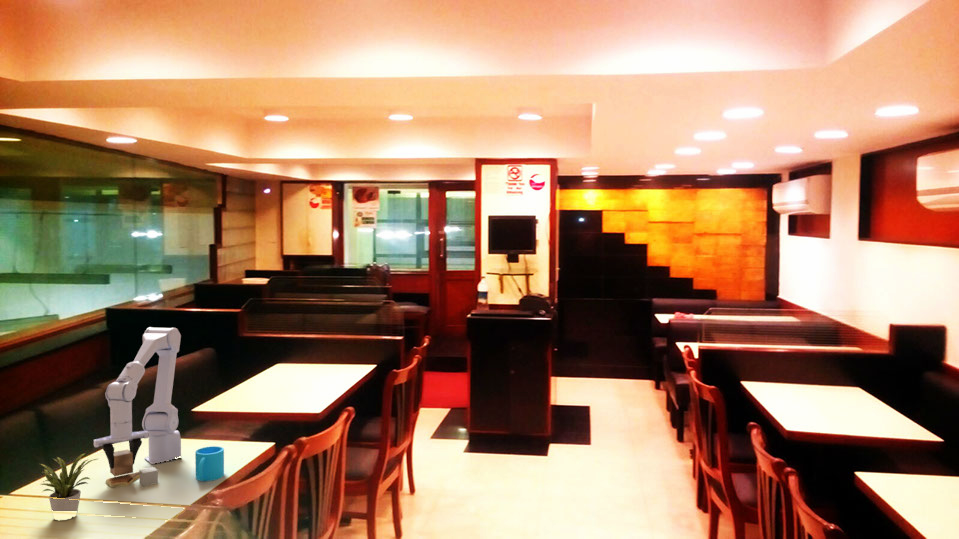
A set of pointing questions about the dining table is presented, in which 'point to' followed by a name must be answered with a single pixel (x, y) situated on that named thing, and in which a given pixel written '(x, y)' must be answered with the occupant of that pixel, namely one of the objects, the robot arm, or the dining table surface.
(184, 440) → the dining table surface
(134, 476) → the shard
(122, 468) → the walnut block
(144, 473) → the light-grey block
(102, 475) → the dining table surface
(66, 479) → the house plant
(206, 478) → the mug
